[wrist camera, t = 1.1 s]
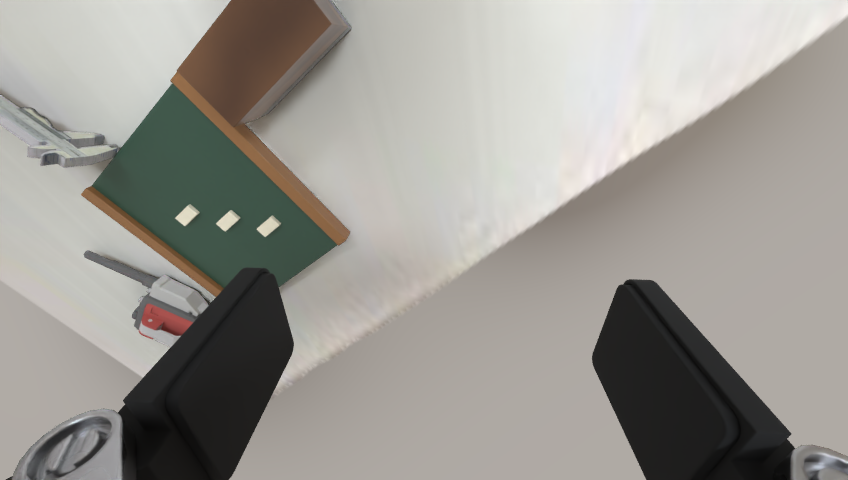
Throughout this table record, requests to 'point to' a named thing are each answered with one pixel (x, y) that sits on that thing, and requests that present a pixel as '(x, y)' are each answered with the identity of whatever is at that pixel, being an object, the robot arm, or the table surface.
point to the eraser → (260, 53)
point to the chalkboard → (212, 195)
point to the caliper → (53, 138)
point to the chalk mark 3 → (268, 226)
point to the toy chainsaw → (160, 303)
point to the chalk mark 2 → (228, 220)
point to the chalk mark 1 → (187, 215)
